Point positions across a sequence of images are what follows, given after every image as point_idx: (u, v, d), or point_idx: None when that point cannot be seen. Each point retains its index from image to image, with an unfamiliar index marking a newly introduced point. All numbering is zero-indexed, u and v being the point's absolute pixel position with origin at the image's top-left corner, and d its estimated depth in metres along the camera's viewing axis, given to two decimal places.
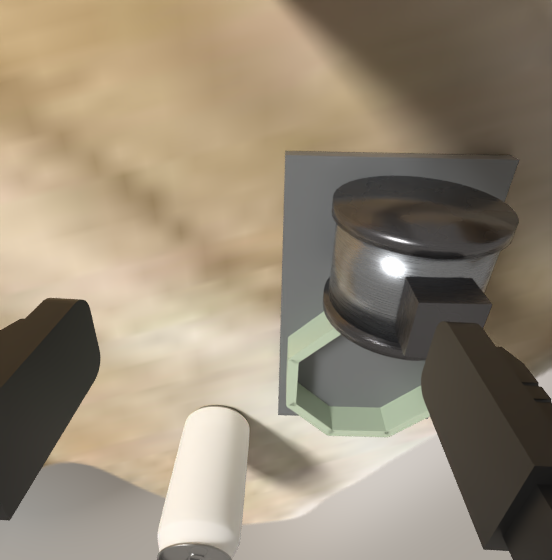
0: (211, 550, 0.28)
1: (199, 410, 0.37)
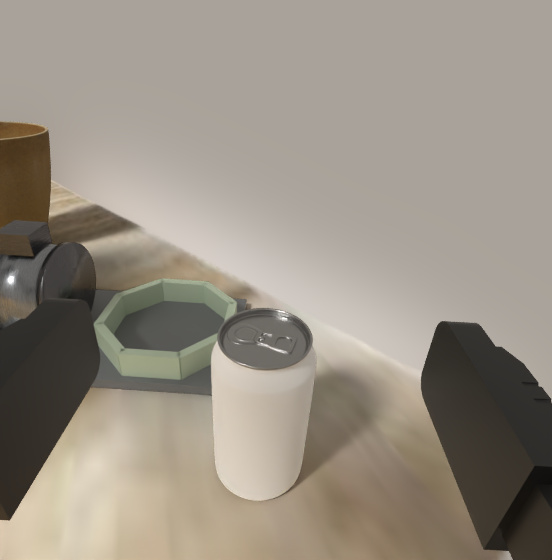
0: (246, 324, 0.24)
1: (217, 472, 0.27)
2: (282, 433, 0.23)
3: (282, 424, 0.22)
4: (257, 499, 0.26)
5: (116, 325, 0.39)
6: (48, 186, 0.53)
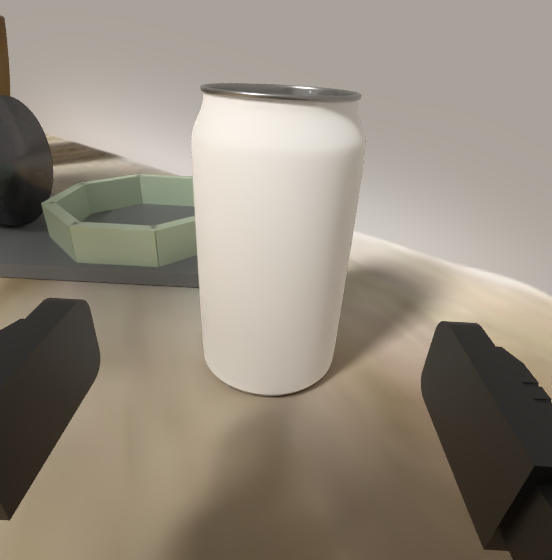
0: None
1: (206, 361, 0.18)
2: (313, 252, 0.13)
3: (312, 230, 0.13)
4: (269, 392, 0.16)
5: (76, 218, 0.30)
6: (5, 89, 0.44)
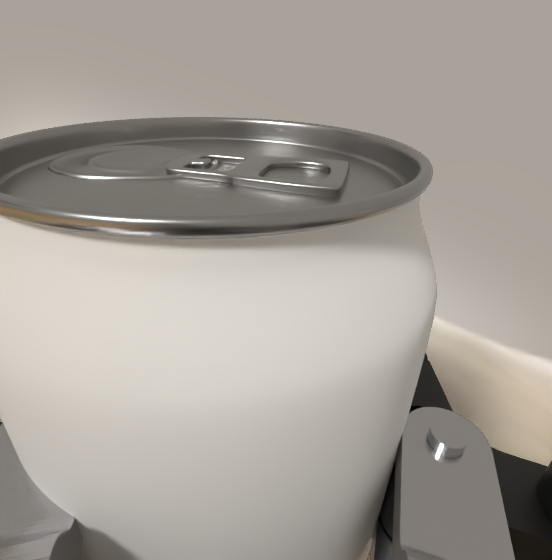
0: (147, 148, 0.06)
1: None
2: None
3: (311, 544, 0.05)
4: None
5: None
6: None
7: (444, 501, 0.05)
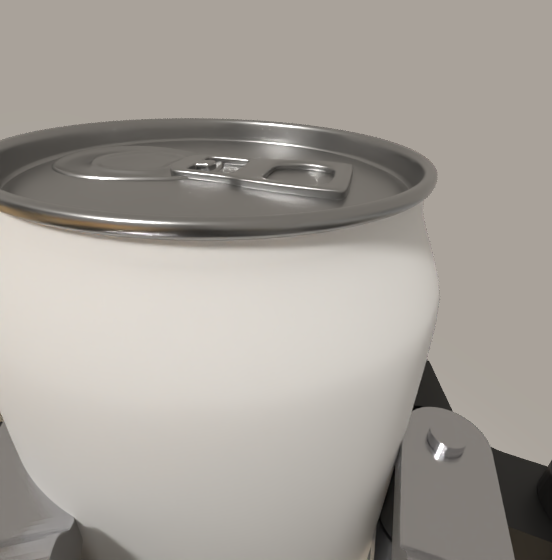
0: (150, 149, 0.06)
1: None
2: None
3: (313, 545, 0.05)
4: None
5: None
6: None
7: (443, 501, 0.05)
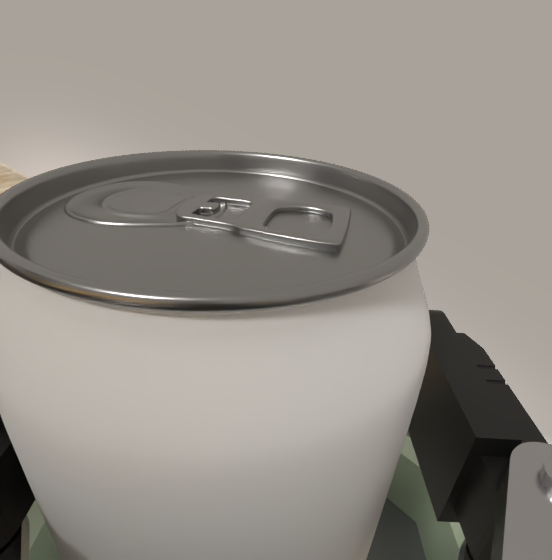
0: (157, 184, 0.07)
1: None
2: None
3: None
4: None
5: None
6: None
7: None
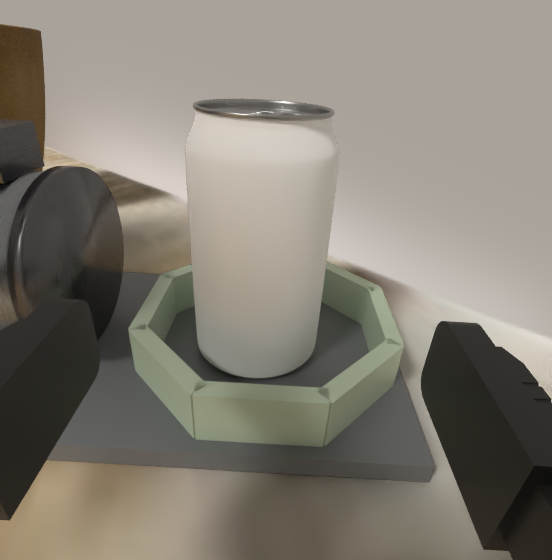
0: (235, 109, 0.17)
1: (200, 349, 0.20)
2: (293, 250, 0.15)
3: (293, 230, 0.15)
4: (257, 375, 0.18)
5: (165, 331, 0.21)
6: (41, 122, 0.35)
7: None
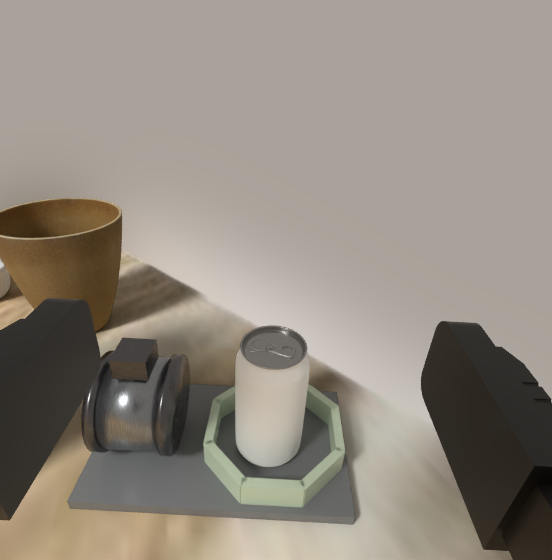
0: (259, 338, 0.33)
1: (238, 448, 0.36)
2: (287, 414, 0.32)
3: (287, 407, 0.32)
4: (269, 465, 0.35)
5: (217, 434, 0.38)
6: (119, 265, 0.52)
7: None
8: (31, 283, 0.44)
